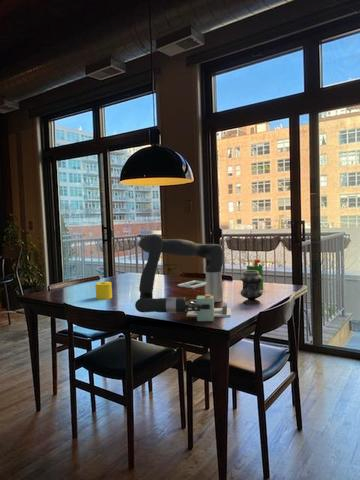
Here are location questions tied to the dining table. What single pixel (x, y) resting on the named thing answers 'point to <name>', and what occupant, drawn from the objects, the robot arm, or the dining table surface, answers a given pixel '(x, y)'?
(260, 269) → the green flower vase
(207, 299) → the block
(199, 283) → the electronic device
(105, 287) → the yellow cylindrical piece
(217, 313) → the din plate
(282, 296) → the dining table surface
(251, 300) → the apothecary jar
